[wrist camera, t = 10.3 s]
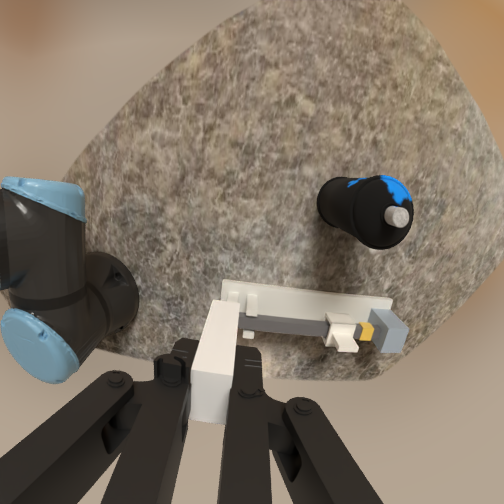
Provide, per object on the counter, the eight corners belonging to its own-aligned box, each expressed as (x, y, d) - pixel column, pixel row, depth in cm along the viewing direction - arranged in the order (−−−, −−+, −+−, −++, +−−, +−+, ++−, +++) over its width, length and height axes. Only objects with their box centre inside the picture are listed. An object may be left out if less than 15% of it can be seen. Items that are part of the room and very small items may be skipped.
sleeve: (320, 333, 45) (331, 360, 38) (325, 311, 44) (339, 336, 37) (342, 335, 46) (357, 361, 38) (348, 313, 45) (365, 337, 37)
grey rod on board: (218, 322, 49) (212, 349, 40) (223, 279, 47) (216, 300, 39) (378, 336, 50) (397, 361, 41) (390, 297, 48) (412, 318, 40)
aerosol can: (354, 235, 46) (415, 270, 26) (309, 216, 45) (350, 242, 26) (371, 189, 44) (443, 196, 25) (327, 168, 43) (380, 159, 24)
